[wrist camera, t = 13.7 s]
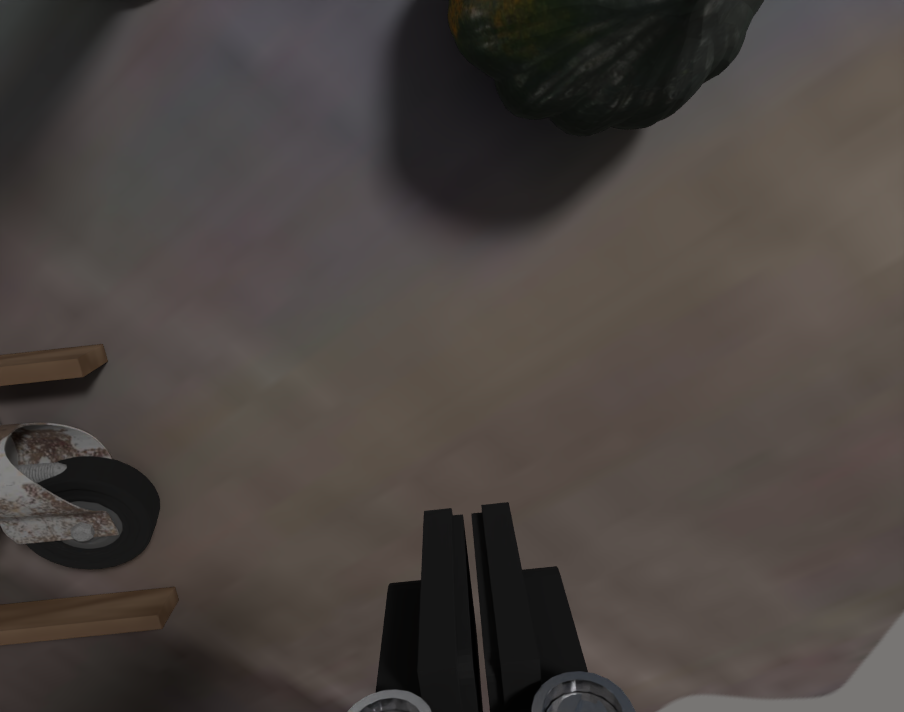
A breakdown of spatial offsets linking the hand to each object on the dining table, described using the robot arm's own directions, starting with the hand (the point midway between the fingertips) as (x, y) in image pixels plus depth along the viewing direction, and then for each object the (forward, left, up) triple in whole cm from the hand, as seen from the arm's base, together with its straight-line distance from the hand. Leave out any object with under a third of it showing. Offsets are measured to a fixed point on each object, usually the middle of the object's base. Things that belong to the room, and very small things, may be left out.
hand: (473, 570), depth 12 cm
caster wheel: (+11, -26, -30) cm, 41 cm away
